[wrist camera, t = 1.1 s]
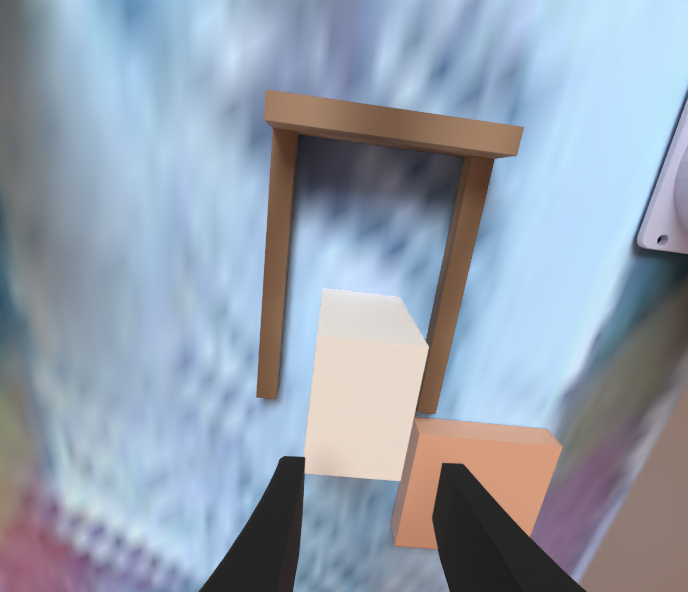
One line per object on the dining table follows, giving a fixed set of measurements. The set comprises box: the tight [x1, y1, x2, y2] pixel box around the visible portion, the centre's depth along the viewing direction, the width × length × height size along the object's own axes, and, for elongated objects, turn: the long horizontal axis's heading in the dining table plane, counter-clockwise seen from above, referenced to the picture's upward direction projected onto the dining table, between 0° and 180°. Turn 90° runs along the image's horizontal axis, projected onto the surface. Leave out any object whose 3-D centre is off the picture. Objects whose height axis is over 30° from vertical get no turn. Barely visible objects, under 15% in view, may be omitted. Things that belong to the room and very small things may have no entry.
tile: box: [391, 417, 562, 549], centre depth 21 cm, size 8×8×2 cm
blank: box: [304, 288, 429, 481], centre depth 17 cm, size 4×6×6 cm, turn 173°
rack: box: [256, 90, 524, 414], centre depth 17 cm, size 10×14×3 cm
